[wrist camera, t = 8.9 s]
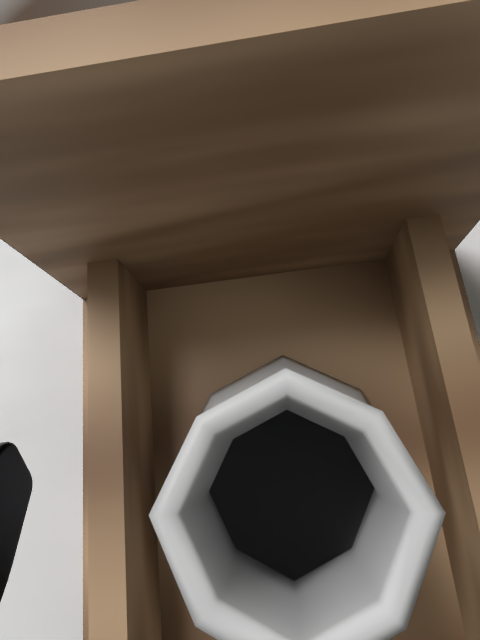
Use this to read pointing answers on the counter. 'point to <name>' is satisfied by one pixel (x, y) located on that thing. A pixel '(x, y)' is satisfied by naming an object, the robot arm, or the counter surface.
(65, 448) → the counter surface
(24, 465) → the robot arm
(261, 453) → the flask
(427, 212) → the spice stand
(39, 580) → the counter surface
